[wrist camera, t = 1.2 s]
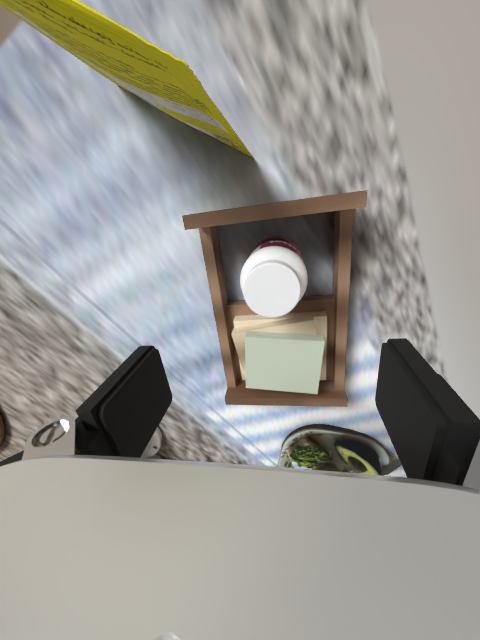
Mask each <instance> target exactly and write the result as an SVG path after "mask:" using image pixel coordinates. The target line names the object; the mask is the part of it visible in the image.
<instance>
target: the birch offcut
mask: <svg viewBox="0 0 480 640" xmlns="http://www.w3.org/2000/svg"><path fill="white" fill-rule="evenodd" d="M312 314H313V318H314V323H315V329H316V335H323V337H324V340H325V344H324V351H323V358H322V371H323V377H324V379H320V380H326V354H327V315H326V312H325V311H320V312H301V313H287V314H285V315H283V316H280V317H273V318H270V317H264V316H261V315H244V316H235V318H234V321H233V322H234V328H238V327H244V326H249V325H255V324H261V323H267V322H272V321H278V320H284V319H289V318H295V317H301V316H307V315H312ZM239 362H240V360H239ZM240 369H241V375H242V380H246V379H245V376H244V373H243V370H242V366H241V363H240Z"/></svg>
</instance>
